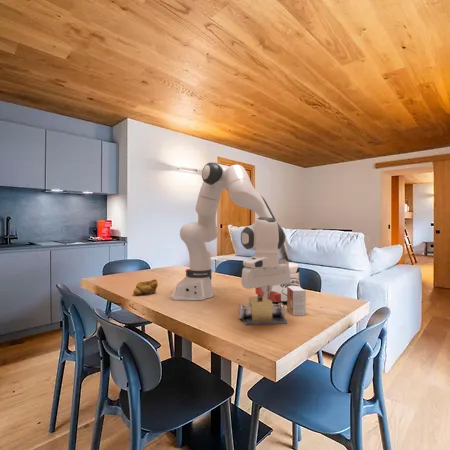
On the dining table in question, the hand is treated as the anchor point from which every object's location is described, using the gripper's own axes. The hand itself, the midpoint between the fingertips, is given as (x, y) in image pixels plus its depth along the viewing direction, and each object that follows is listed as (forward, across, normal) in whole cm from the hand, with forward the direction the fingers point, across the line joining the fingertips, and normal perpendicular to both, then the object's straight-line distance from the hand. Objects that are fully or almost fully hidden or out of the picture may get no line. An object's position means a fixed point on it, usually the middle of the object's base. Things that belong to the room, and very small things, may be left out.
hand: (266, 297), depth 104 cm
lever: (+1, -2, -3) cm, 4 cm away
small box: (+11, -21, -7) cm, 24 cm away
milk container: (+11, -28, -24) cm, 39 cm away
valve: (+11, -3, -8) cm, 14 cm away
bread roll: (+11, +30, -72) cm, 78 cm away
